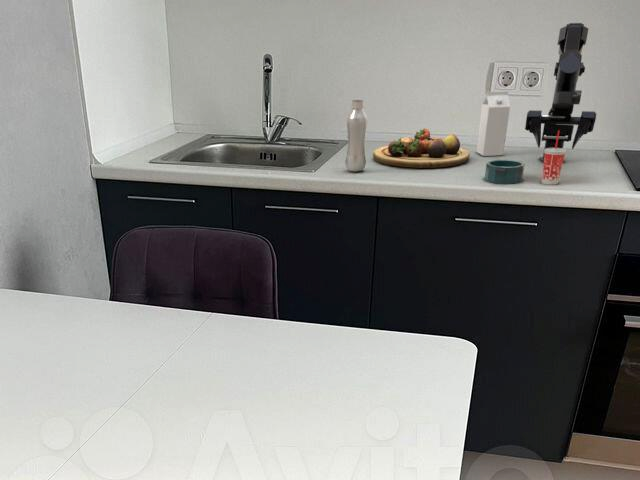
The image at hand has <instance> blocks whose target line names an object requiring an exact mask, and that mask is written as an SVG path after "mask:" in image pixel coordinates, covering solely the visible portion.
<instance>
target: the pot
mask: <svg viewBox="0 0 640 480" xmlns="http://www.w3.org/2000/svg"><path fill="white" fill-rule="evenodd" d="M525 165H526V163H524V162H523V161H518V160H512V159H511V160H510V159H495V160H490V161H487V163H486V166H485V173H484V180H485V181H486V182H488V183H492V184H500V185H501V184H503V185H508V184H509V185H510V184H511V185H512V184H518V183H521V182H522V181H523V178H524V177H523V176H524V171H525Z"/></svg>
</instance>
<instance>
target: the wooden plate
mask: <svg viewBox="0 0 640 480" xmlns="http://www.w3.org/2000/svg"><path fill="white" fill-rule="evenodd" d="M413 137H414V138H411V137H409V136H405V137H403V138H399V139H397V140H393V141H391V142H390V143H389V144H388V145H384V146H381V147H377V148H376V149H374V151H373V153H372V157H373V158H374V160H376V161H377V162H379V163H381V164H384V165H388V166H393V167H401V168H402V167H403V168H415V169H434V168H446V167H453V166H457V165H461V164H464V163H466V162H468V161H469V159H470V157H471V155H470V152H469V151H468V150H467V149H466V148H463V147H461V142H460V139H459V137H457V135H455V134H454V133H449V135H447V136H446V137H445V138H444V140H443V138H442V137H439V136H437V137H433V138H432V137H431V132H430V130H429V129H428V128H422V129H419V131H416V132H415V135H414V136H413Z"/></svg>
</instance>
